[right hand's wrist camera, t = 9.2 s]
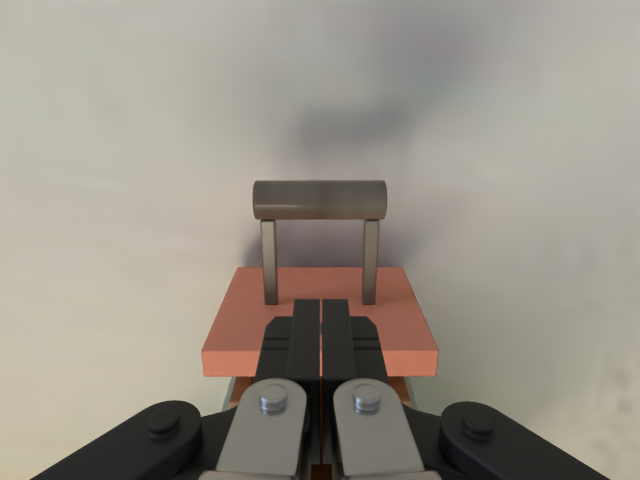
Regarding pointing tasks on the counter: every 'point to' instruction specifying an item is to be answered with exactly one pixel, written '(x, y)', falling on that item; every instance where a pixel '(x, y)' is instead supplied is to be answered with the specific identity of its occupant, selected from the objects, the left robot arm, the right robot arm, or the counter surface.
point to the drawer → (319, 291)
